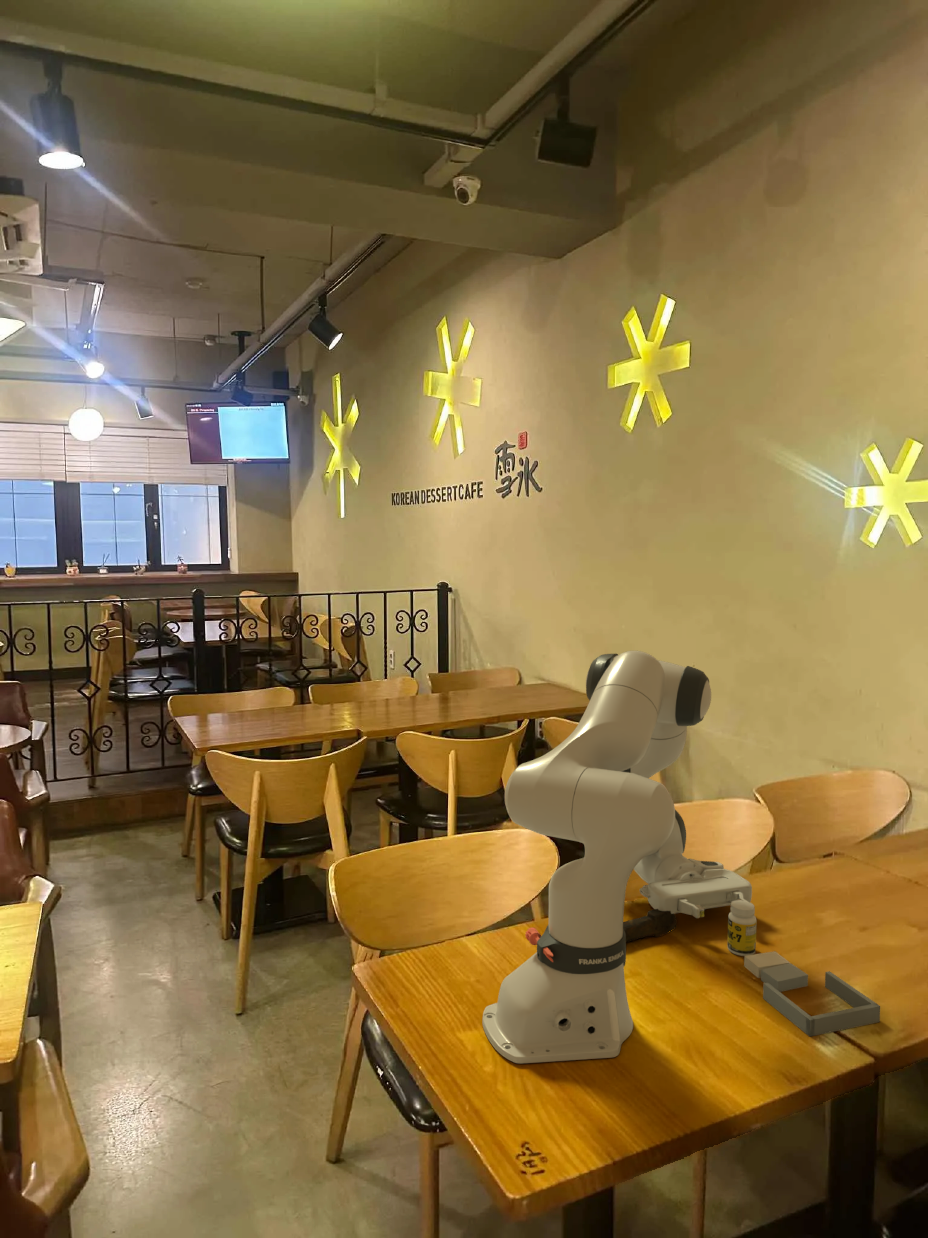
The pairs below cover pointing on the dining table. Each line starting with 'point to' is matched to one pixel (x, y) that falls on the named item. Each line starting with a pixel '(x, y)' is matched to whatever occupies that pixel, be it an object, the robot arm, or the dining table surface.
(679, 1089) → the dining table surface
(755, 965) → the tile far
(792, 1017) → the grey u-shaped frame
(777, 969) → the tile near
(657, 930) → the hand tool
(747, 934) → the supplement bottle
